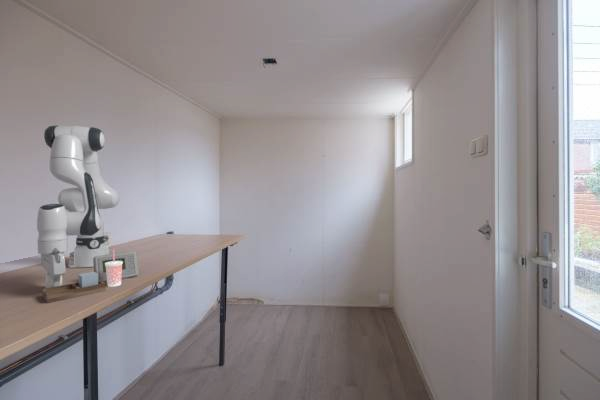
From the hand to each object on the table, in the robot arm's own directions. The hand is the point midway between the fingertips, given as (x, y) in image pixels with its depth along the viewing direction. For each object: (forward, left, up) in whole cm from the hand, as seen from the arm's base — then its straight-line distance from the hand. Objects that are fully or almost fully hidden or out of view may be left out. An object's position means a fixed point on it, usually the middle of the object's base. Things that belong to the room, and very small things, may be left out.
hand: (54, 283), depth 116 cm
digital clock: (+2, +21, -2) cm, 21 cm away
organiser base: (+11, +4, -2) cm, 12 cm away
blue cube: (+11, +8, -1) cm, 14 cm away
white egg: (0, 0, -2) cm, 2 cm away
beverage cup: (+11, +17, -2) cm, 20 cm away
